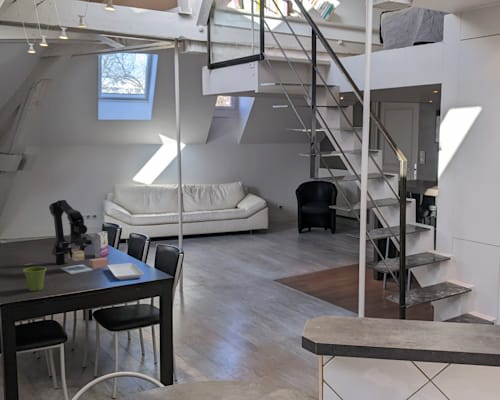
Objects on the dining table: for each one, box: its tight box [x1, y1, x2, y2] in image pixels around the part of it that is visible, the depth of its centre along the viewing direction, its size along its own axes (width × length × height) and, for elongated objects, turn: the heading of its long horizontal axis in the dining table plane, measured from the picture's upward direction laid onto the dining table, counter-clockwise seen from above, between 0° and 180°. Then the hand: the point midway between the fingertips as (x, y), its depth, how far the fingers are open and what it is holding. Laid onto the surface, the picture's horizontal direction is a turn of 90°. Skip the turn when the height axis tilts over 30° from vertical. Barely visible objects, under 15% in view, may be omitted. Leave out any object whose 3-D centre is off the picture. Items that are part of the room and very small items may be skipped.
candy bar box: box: [93, 231, 109, 259], centre depth 379 cm, size 11×5×16 cm, turn 168°
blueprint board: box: [60, 264, 94, 275], centre depth 342 cm, size 16×14×1 cm
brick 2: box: [88, 256, 109, 270], centre depth 349 cm, size 10×6×5 cm, turn 127°
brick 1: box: [68, 248, 85, 262], centre depth 341 cm, size 10×6×5 cm, turn 39°
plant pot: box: [22, 266, 48, 292], centre depth 298 cm, size 12×12×11 cm
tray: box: [107, 262, 145, 281], centre depth 330 cm, size 17×31×4 cm, turn 23°
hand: (76, 257), depth 341 cm, fingers closed on brick 1, 6 cm apart
